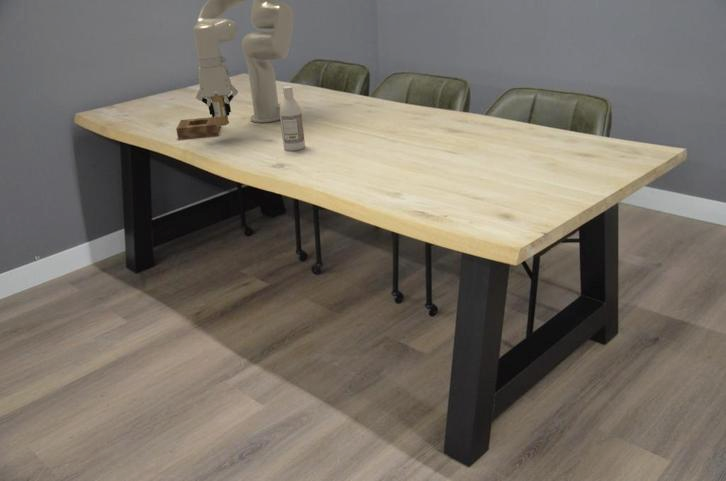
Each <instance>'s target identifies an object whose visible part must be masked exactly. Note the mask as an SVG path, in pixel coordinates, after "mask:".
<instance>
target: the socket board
mask: <svg viewBox="0 0 726 481" xmlns="http://www.w3.org/2000/svg"><path fill="white" fill-rule="evenodd" d="M221 127H222V126H217V125H216V119H215V117H212V116H209V117H201V118H200V117H199V118H189V119H187V118H186V119H180V121H179V122H178V125H177V127H176V129H175V130H176V135H177V140H179V141H180V140H190V139H198V138H199V139H200V138H209V137H211V138H212V137H218V136H219V135H220V131H221Z"/></svg>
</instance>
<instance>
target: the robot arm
mask: <svg viewBox="0 0 726 481" xmlns="http://www.w3.org/2000/svg"><path fill="white" fill-rule="evenodd" d="M245 1H246V0H208V1H206V3H205V4H204V5H203V6H202V7H201V10H200V13H199V15H198V17H197V20H196V23H195V25H194V27H193V28H192V32H193V37H194V43H195V48H196V53H197V58H198V64H199V67H198V68H197V69H198V73H197V74H198V83H199V90H198V92H197V94H196V96H195V99H196V100H199V101H200V102H202V103H204V104H205V105H207V107H208V110H209V115H211V117H215V115H214V110H213V105H212V99H211V97H214V96H215V95H214V94H217V95H218V96H223V97H224V101H225V108H226V114H227V116H228V117H229V116H230V113H231V112H232V109H231V102H232V100H233V99H234V97H236V96H237V94H238V93H239V91H238V90H237V89H236V88H235V86H233V84H232V83H231V79H230V75H229V72H228V68H227V65H226V64H225V62H227V56H223V55H222V52H221V48H220V47H221V46H220V44H222V43H228V42H229V43H230V42H232V41H233V40H234V39H235V38H236V37H237V35H238V32H239V31H238V26H237V23H236V22H235V21H234V20H232V19H230V18H220V16H221V15H223V14H224V13H226V12H227V11H229V10H232V9H234V8H236V7H238V6H240V5H241V4H243V3H244V2H245ZM250 14H251V15H250V23H251V26H252V27H253V28H254V29H255V30H258V31H260V32H250V33H248V34H246V35H245V36H244V37H243V39H242V40H241V49H242V50H241V51H242V53H243V56H244V59H245V62H246V66H247V72H248V73H247V74H248V78H249V79H248V80H249V87H250V93H251V100H252V107H253V114H252V115H251V116H250V117H249V118H250V121H251V122H253V123H261V124H262V123H271V122H276V121H280V107H281V105H280V103H279V98H278V90H277V80H276V73H275V68H274V67H273V64H272V63H271V61H282V60H284V59H286V58H287V56H288V55H289V51H290V47H291V40H292V35H293V29H294V20H295V19H294V12H293V9H292V8H291V5H289V4H287V3H285V2H278V0H252V7H251V13H250ZM261 31H262V32H261ZM263 31H264V32H263ZM265 31H273V32H265ZM215 91H217V92H218V93H214V92H215Z"/></svg>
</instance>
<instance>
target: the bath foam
mask: <svg viewBox="0 0 726 481" xmlns="http://www.w3.org/2000/svg"><path fill="white" fill-rule="evenodd" d="M282 90H283V91H282V92H283V98H284V99H283V100H282V102H281V105H280V120H279V122H280V126H281V137H282V144H283V148H284V150H286V151H287V152H289V151H290V152H292V151H293V152H295V151H300V150H303V149H304V148H305V147H306V143H305V132H304V123H303V115H302V114H303V113H302V109H301V106H300V105H299V103H298V101H297V100H296V99H295V98H294V91H293V86H292V85H285V86H283V87H282Z"/></svg>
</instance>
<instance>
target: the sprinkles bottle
mask: <svg viewBox="0 0 726 481" xmlns="http://www.w3.org/2000/svg"><path fill="white" fill-rule="evenodd" d="M214 93H218V92H217V91H215V92H214ZM214 95H215V96H214V97H211V102H212V105H213V110H214V115H215V119H216V125H217V126H221V127H222V126H223V127H224V126H227V125H229V124H230V121H229V116H227V114H226V108H225V99H224V97H223V96H218V95H217V94H214Z"/></svg>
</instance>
